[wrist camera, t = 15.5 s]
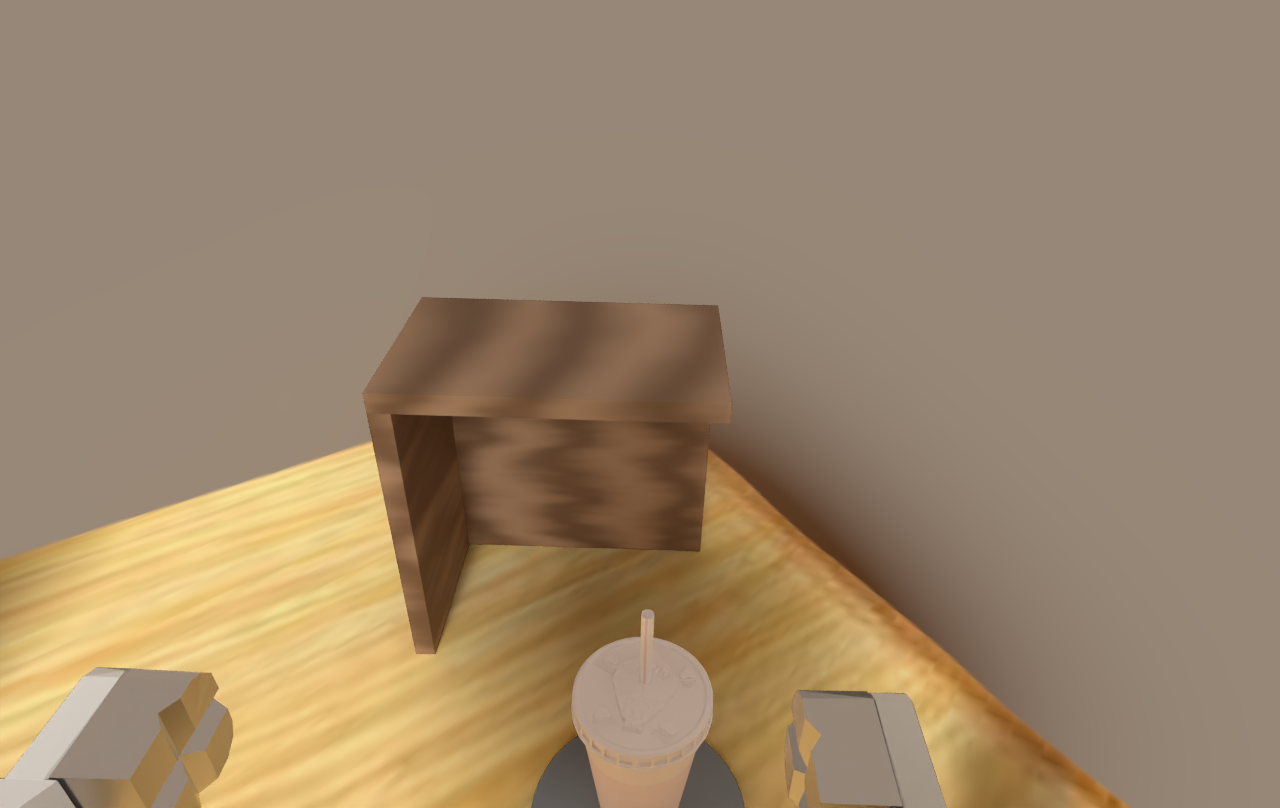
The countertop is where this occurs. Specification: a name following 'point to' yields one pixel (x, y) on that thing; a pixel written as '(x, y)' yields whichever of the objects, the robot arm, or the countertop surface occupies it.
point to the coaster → (572, 798)
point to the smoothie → (641, 718)
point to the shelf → (541, 432)
